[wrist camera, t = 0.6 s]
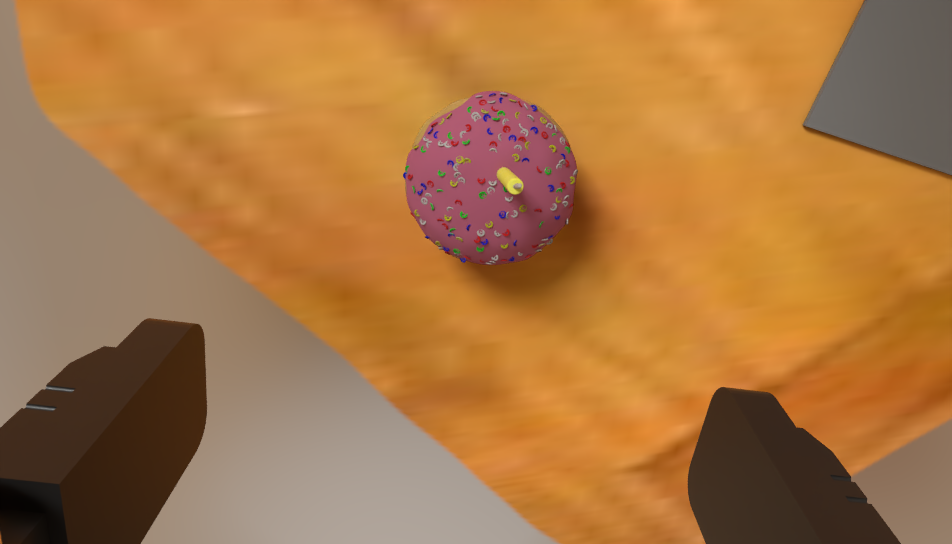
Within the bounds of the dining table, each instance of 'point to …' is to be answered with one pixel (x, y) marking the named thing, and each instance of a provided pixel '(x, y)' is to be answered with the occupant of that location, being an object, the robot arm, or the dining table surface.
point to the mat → (893, 82)
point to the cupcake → (491, 179)
